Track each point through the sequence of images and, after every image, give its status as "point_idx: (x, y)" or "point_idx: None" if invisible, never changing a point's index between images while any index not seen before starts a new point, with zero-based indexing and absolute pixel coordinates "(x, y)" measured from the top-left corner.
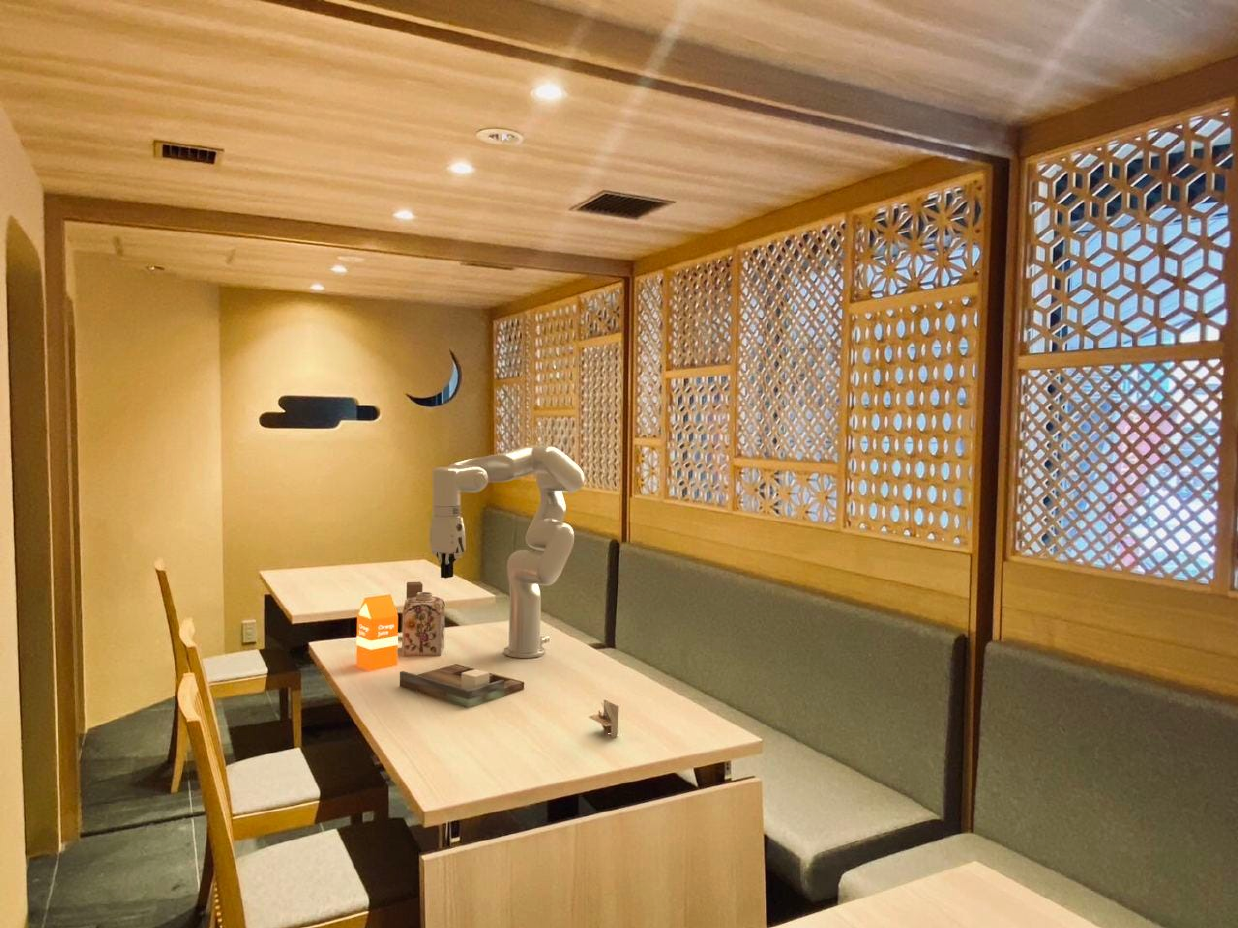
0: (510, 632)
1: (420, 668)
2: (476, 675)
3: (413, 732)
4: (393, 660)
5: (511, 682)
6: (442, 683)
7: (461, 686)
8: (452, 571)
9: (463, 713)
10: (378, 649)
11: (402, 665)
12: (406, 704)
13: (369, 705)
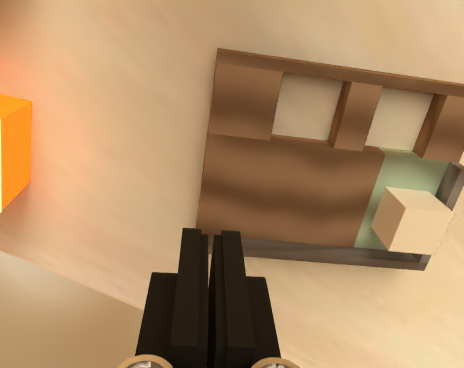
0: None
1: (113, 88)
2: (432, 246)
3: (380, 362)
4: (23, 118)
5: (458, 113)
6: (341, 261)
7: (375, 231)
8: (267, 299)
9: (412, 274)
10: (2, 185)
11: (45, 94)
12: (288, 293)
13: None
